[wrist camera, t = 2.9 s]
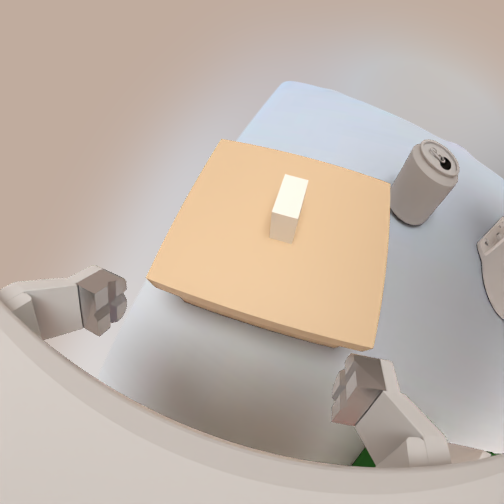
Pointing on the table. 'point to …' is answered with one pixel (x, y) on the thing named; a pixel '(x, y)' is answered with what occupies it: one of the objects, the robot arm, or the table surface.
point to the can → (423, 182)
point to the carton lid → (282, 244)
